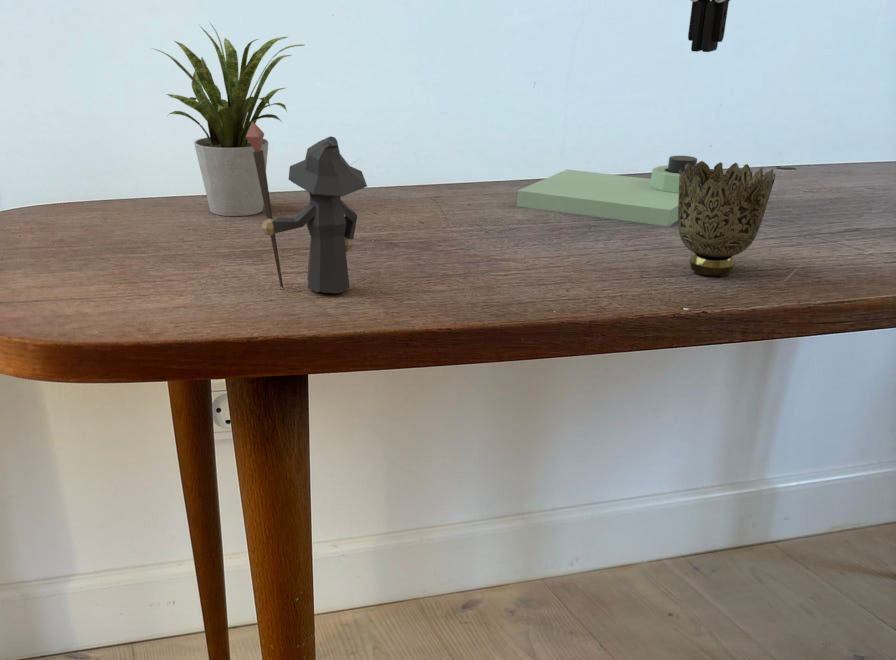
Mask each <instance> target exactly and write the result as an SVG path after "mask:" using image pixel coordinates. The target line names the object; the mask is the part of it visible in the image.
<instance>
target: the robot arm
mask: <svg viewBox="0 0 896 660" xmlns="http://www.w3.org/2000/svg"><path fill="white" fill-rule="evenodd" d="M689 1H690V2H691V10H690V17H689V25H688V26H689V27H688V33H687V35H688V36H687V39H688V41H689V42H691V47H690V48H691V52H696V53H697V52H702V53H711V52H714V51H716V50H718V44H719V43H722V42H723V40H724V38H725V32H726V24H727V18H728V17H727V16H728V10H729V2H731V1H732V0H689Z"/></svg>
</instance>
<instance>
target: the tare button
mask: <svg viewBox="0 0 896 660" xmlns="http://www.w3.org/2000/svg"><path fill="white" fill-rule="evenodd" d="M687 163H689V164H691V166H692V168H693V167H694V166H695V165H696V164H697V163H698V158H697V157H695V156H691V155H671V156H669V157H668V162H667V164H668V170H667V172H670V173H677V174H679V169H680V168H681V171H682V172H684V171H685V165H686V164H687Z"/></svg>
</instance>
